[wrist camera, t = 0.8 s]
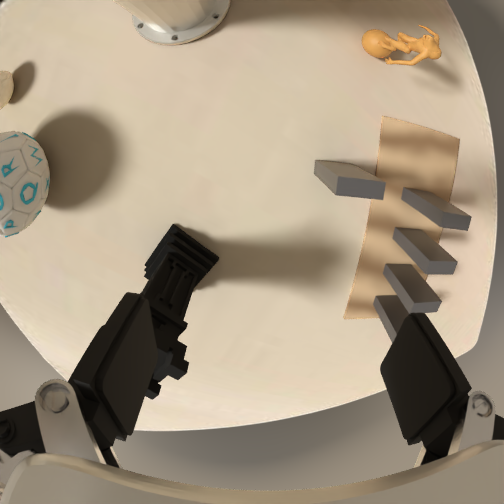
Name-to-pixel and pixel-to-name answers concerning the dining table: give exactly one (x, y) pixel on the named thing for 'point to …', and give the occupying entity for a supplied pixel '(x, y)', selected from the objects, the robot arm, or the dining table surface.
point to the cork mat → (400, 205)
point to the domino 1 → (349, 180)
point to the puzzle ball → (21, 181)
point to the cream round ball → (5, 87)
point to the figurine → (401, 46)
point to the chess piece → (173, 298)
